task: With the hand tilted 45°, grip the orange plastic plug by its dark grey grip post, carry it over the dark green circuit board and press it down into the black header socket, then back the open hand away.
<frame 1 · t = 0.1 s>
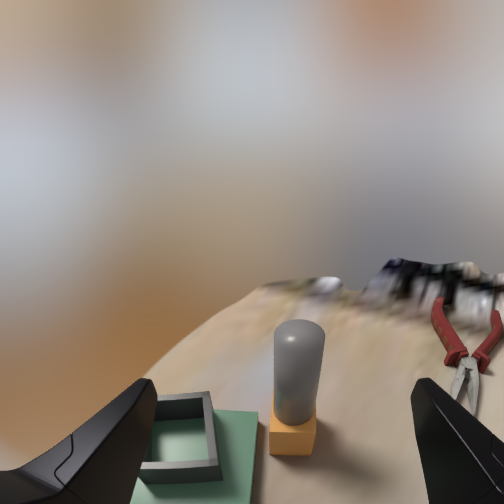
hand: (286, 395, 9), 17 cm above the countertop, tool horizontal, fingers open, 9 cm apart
plug: (291, 434, 24), on the countertop
pliers: (454, 351, 31), on the countertop
header: (184, 455, 22), resting on board
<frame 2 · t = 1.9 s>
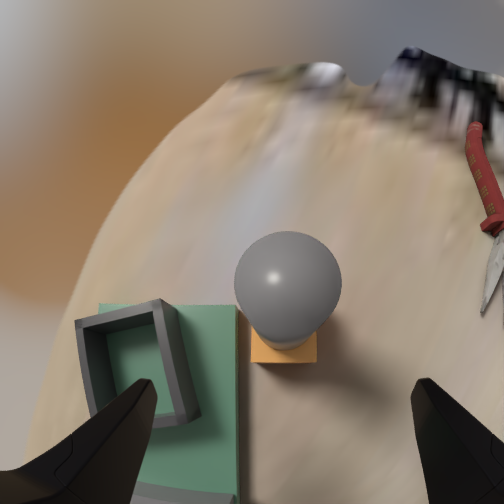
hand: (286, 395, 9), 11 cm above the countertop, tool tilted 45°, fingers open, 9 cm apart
board: (167, 452, 18), on the countertop
plug: (283, 330, 20), on the countertop
pliers: (490, 206, 23), on the countertop
header: (153, 371, 20), resting on board
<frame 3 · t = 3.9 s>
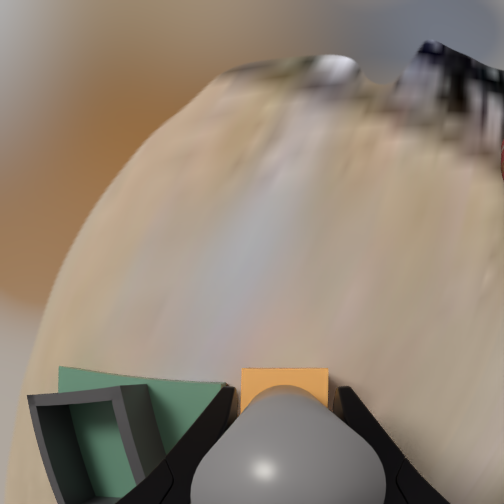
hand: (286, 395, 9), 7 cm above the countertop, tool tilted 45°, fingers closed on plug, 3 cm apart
plug: (282, 408, 15), on the countertop, touching gripper
header: (126, 446, 14), resting on board
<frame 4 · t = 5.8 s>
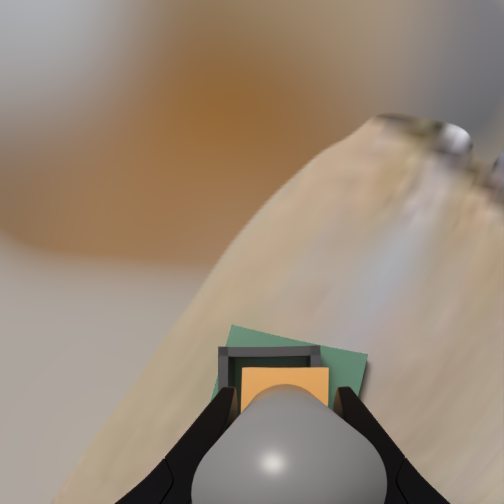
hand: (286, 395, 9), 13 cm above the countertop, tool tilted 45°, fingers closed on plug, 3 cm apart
board: (263, 469, 19), on the countertop
plug: (283, 408, 15), point 7 cm above the countertop, touching gripper
header: (271, 396, 21), resting on board
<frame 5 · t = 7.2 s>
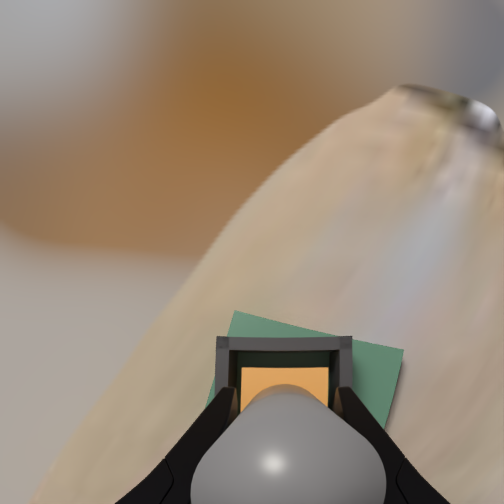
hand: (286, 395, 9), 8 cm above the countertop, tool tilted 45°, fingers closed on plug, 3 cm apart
board: (269, 492, 15), on the countertop
plug: (282, 408, 15), point 2 cm above the countertop, touching gripper
header: (282, 403, 17), resting on board
when the fingers open (8 cm above the countertop, at t = 7.7 s): plug stays where it is, resting on board.
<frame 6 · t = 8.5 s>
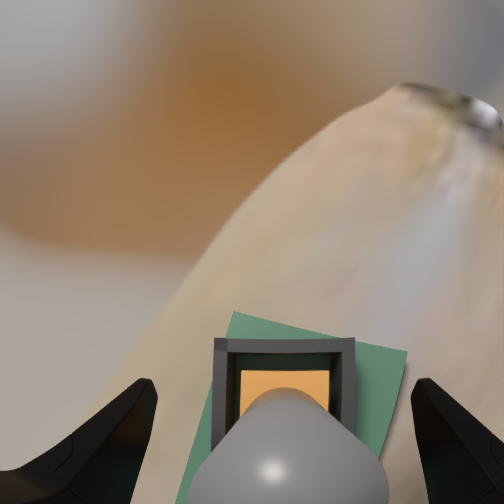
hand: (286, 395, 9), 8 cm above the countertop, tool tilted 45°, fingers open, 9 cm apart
board: (269, 497, 14), on the countertop
plug: (282, 411, 15), point 1 cm above the countertop, touching board
header: (282, 406, 16), resting on board
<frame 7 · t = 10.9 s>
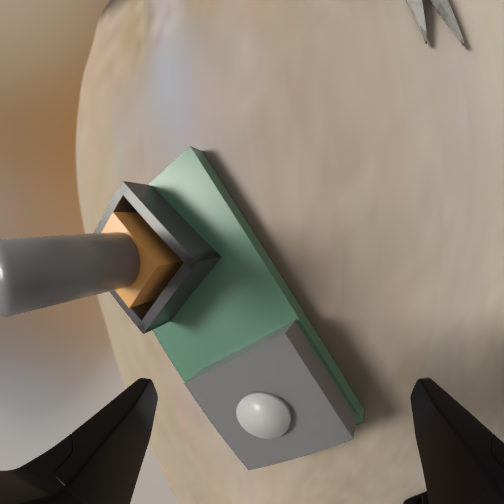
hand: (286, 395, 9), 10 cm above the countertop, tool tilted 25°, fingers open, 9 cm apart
board: (224, 318, 21), on the countertop
plug: (159, 254, 21), point 1 cm above the countertop, touching board
header: (171, 252, 22), resting on board
grey button box: (282, 384, 20), resting on board
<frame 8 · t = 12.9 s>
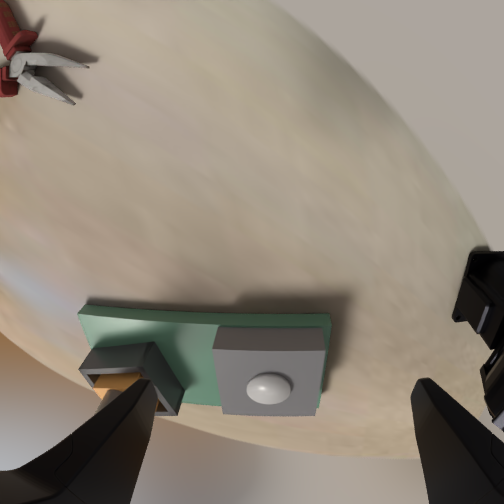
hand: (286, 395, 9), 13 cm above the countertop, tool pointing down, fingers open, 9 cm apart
board: (201, 357, 26), on the countertop
plug: (137, 370, 26), point 1 cm above the countertop, touching board
pliers: (4, 73, 17), on the countertop
header: (142, 359, 27), resting on board
grey button box: (270, 352, 25), resting on board
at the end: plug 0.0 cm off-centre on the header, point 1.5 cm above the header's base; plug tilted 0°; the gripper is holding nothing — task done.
